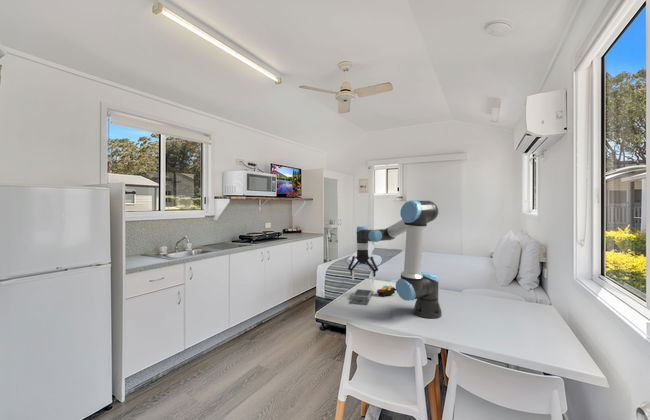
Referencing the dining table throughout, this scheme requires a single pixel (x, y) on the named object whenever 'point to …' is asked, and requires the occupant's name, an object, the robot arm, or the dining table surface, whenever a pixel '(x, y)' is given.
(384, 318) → the dining table surface
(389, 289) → the gadget
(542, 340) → the dining table surface
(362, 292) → the grey rectangular box
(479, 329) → the dining table surface
